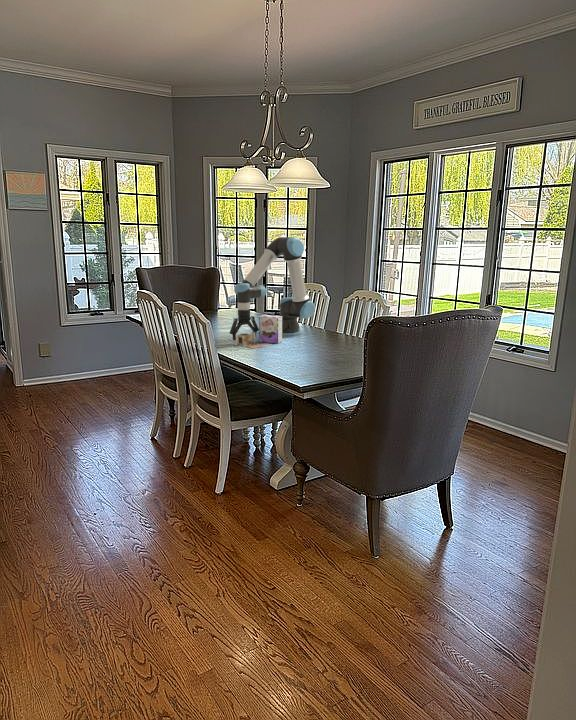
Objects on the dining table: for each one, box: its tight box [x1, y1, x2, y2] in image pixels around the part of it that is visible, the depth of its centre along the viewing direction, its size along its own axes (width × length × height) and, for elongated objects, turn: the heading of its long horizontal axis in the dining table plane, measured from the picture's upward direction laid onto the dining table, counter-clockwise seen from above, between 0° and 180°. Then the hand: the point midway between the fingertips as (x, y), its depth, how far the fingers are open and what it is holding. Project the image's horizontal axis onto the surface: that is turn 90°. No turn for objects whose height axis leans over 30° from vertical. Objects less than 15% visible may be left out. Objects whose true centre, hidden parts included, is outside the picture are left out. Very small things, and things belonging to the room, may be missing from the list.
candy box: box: [258, 314, 283, 345], centre depth 329 cm, size 14×6×16 cm, turn 62°
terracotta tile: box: [245, 344, 263, 350], centre depth 316 cm, size 7×7×1 cm
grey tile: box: [256, 342, 273, 348], centre depth 321 cm, size 7×7×1 cm
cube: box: [237, 332, 253, 347], centre depth 324 cm, size 6×6×6 cm
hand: (244, 343), depth 325 cm, fingers open, 12 cm apart
